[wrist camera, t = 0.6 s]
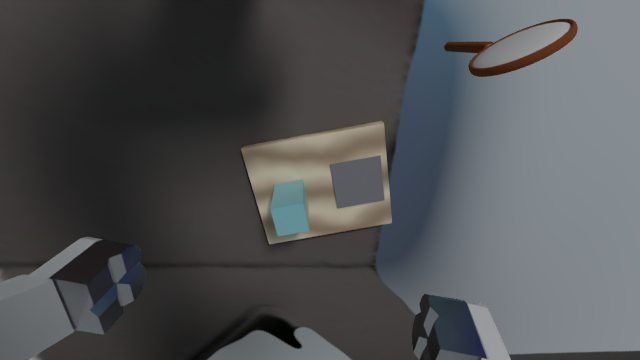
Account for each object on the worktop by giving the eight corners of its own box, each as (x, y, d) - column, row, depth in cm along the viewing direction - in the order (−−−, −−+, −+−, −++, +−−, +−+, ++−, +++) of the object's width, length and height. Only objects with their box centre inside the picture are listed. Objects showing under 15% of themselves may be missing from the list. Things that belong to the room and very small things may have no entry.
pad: (330, 164, 48) (330, 165, 47) (380, 155, 47) (380, 156, 47) (337, 207, 51) (337, 208, 51) (384, 199, 51) (384, 200, 50)
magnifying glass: (420, 68, 44) (504, 86, 26) (415, 57, 43) (498, 68, 25) (476, 35, 42) (608, 30, 24) (472, 23, 42) (605, 8, 23)
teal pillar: (274, 184, 48) (270, 209, 41) (302, 179, 48) (303, 203, 41) (281, 208, 50) (277, 236, 43) (308, 203, 50) (309, 231, 43)
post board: (242, 146, 47) (234, 161, 41) (381, 121, 47) (392, 132, 41) (269, 239, 55) (266, 263, 49) (389, 218, 54) (400, 239, 48)
